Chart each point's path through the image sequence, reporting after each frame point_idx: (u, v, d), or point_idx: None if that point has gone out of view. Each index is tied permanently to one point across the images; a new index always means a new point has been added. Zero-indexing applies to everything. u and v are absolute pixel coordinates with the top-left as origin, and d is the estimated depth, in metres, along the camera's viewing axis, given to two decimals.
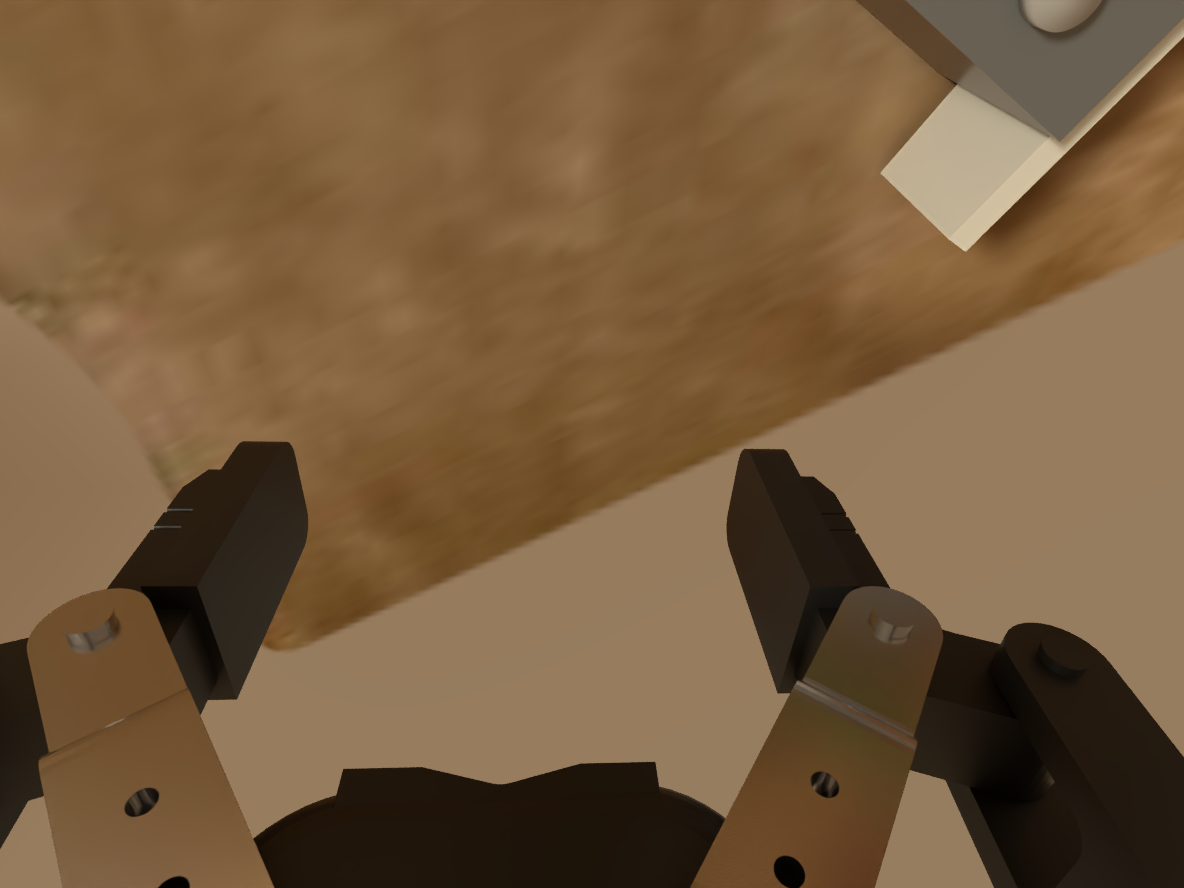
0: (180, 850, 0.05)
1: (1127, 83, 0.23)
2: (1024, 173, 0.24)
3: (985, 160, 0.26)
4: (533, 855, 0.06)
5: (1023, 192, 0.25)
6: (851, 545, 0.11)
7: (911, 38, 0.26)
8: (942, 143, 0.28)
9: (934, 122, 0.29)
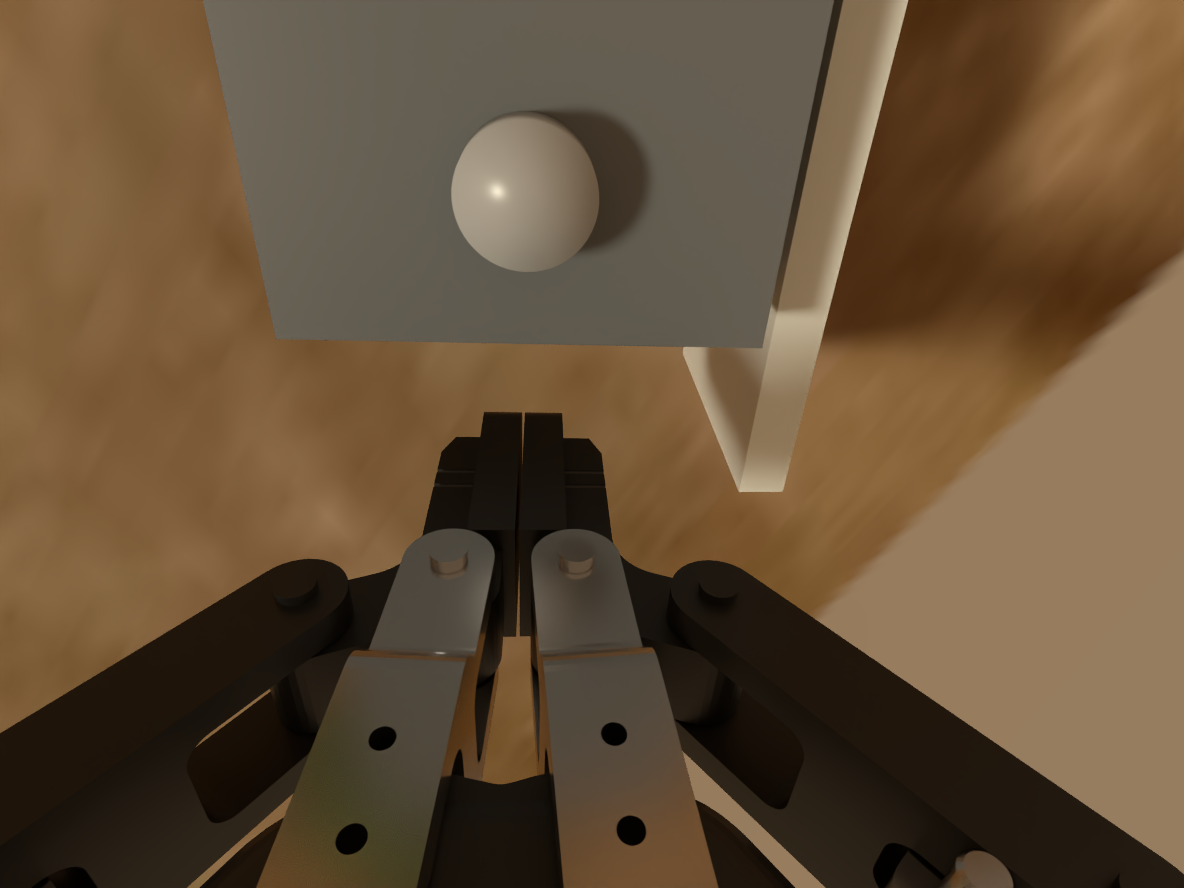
0: (379, 804, 0.06)
1: (848, 179, 0.12)
2: (782, 369, 0.14)
3: (739, 348, 0.15)
4: (533, 855, 0.06)
5: (807, 388, 0.14)
6: (594, 498, 0.11)
7: None
8: None
9: None
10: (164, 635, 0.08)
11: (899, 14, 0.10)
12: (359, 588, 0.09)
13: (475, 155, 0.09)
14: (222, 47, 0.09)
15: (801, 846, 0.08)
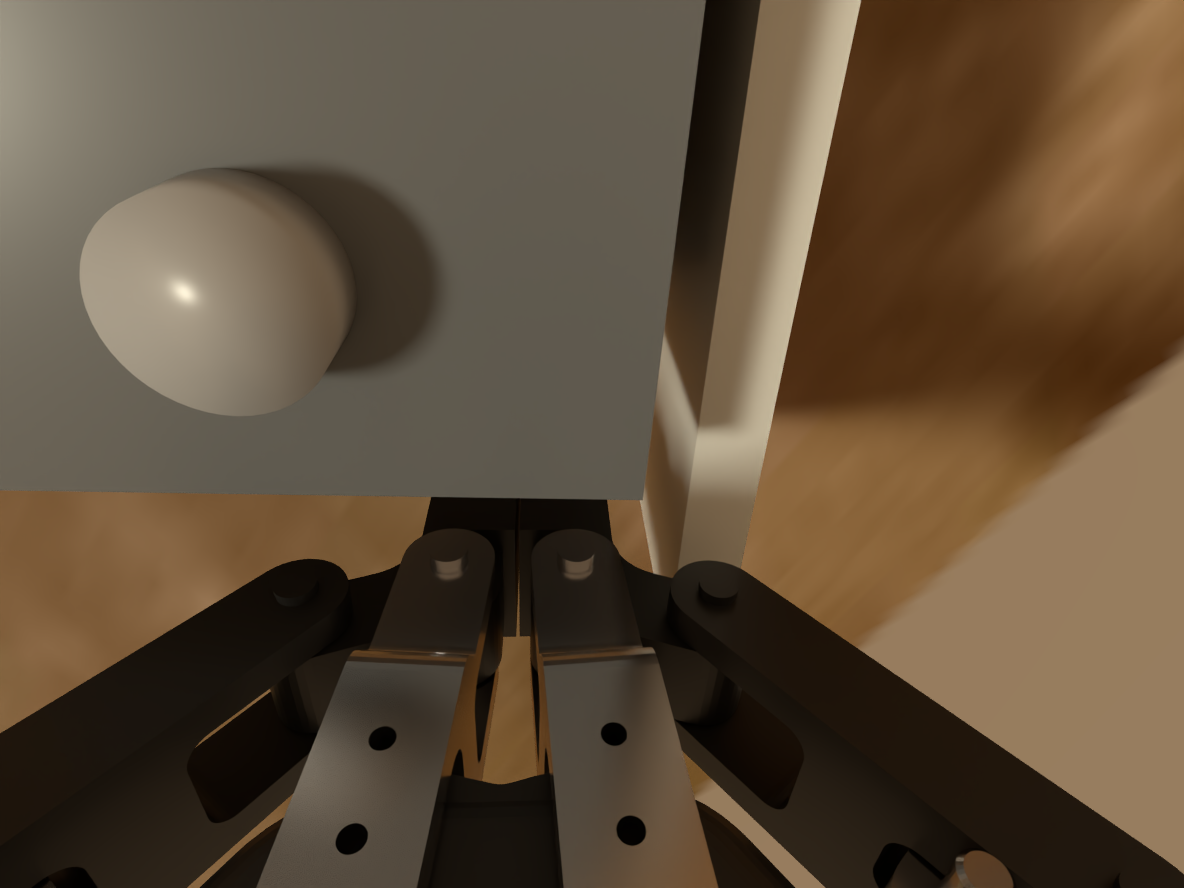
0: (379, 804, 0.06)
1: (785, 257, 0.08)
2: (711, 501, 0.10)
3: (667, 455, 0.12)
4: (533, 855, 0.06)
5: (748, 523, 0.10)
6: None
7: None
8: None
9: None
10: (164, 635, 0.08)
11: (846, 22, 0.07)
12: (359, 588, 0.09)
13: (109, 245, 0.05)
14: None
15: (801, 846, 0.08)
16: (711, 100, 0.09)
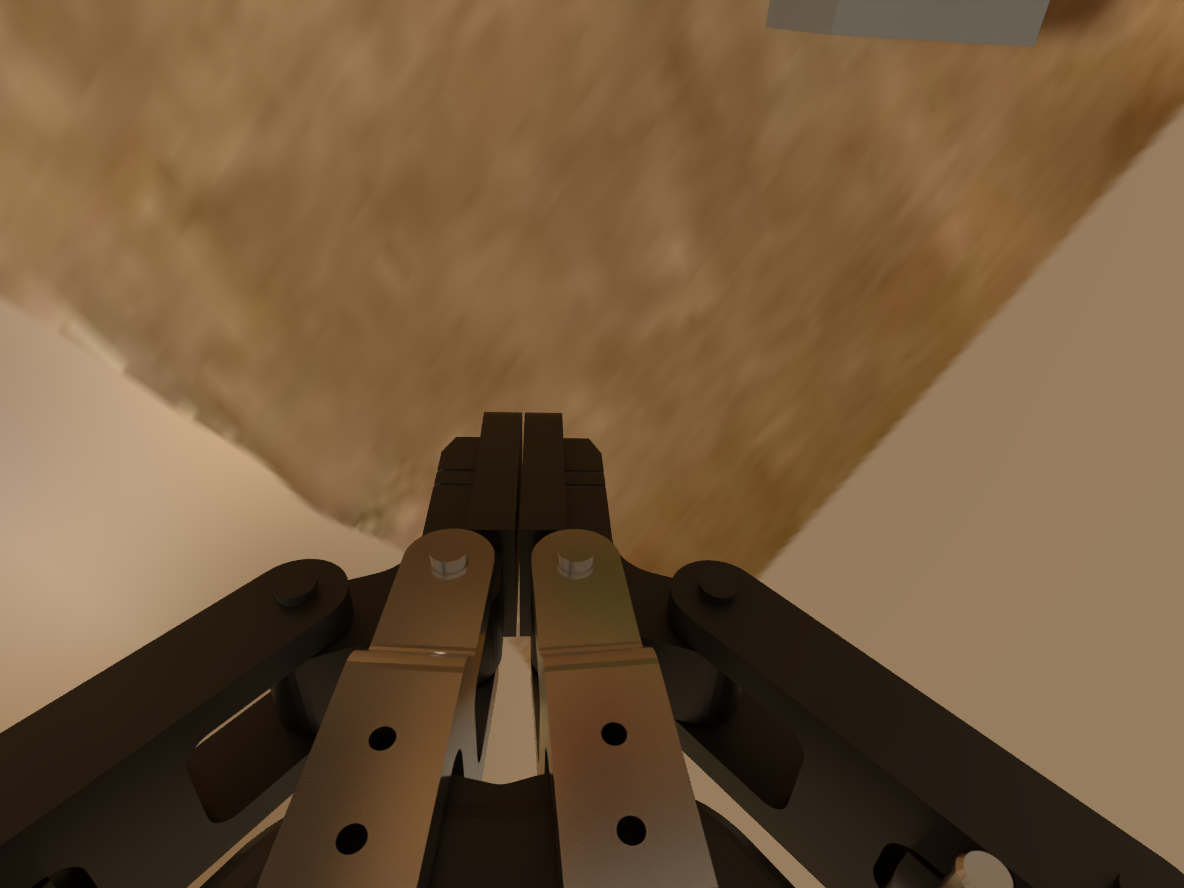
0: (379, 804, 0.06)
1: None
2: None
3: None
4: (533, 855, 0.06)
5: None
6: (593, 498, 0.11)
7: None
8: None
9: None
10: (164, 635, 0.08)
11: None
12: (358, 588, 0.09)
13: None
14: None
15: (801, 846, 0.08)
16: None
